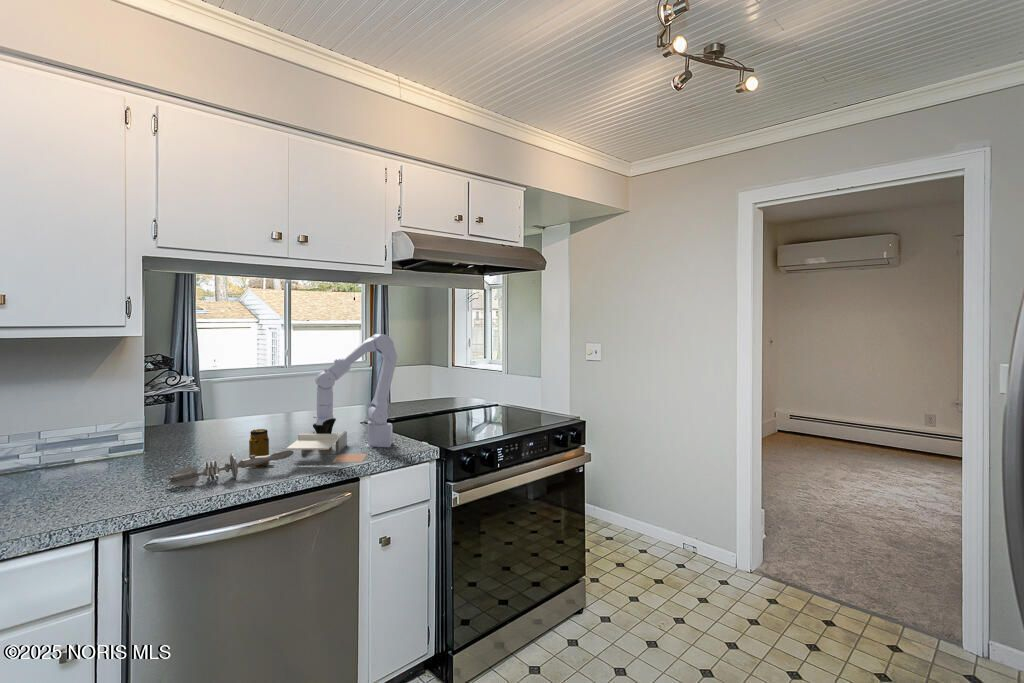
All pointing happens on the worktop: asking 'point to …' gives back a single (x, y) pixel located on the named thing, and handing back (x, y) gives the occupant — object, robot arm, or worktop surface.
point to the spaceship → (222, 468)
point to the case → (335, 448)
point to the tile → (350, 458)
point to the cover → (313, 442)
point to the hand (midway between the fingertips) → (324, 440)
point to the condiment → (259, 446)
